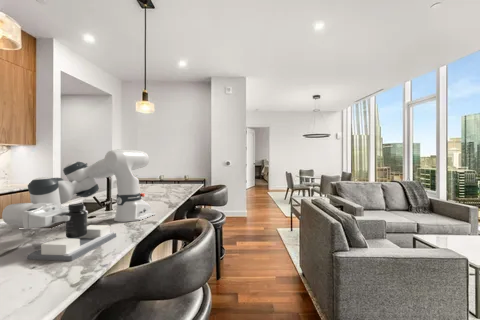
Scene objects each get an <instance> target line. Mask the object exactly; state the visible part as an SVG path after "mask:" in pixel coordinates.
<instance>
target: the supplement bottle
mask: <svg viewBox="0 0 480 320" xmlns="http://www.w3.org/2000/svg"><path fill="white" fill-rule="evenodd" d="M68 206H69V209H68V210H69V212H68V213H66V215H71V220H69V221H64V222H65V237H66V238H77V237H81V236H84V235H86V234H87V226H88V215H87V212H86V211H85V210H86V209H85V210H83V209H84V206H85V204H84V203H81V202H80V203H79V202H78V203H70V204H69V205H68ZM66 215H65V216H66Z"/></svg>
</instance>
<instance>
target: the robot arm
mask: <svg viewBox="0 0 480 320" xmlns="http://www.w3.org/2000/svg"><path fill="white" fill-rule="evenodd" d="M149 162H150V157H149V155H148V153H147V152H146V151H142V150H138V149H122V148H121V149H112V150H108V151H107V152H106V153H105V156H104V158H102V159H100V160H98V161H96V162H94V163H92V165H88V163H87V162H82V161H73V162H70V163H68V164H66V166H65V167H63V169H62V171H63V173H64V176H65V177H66V179H67V180H64V178H62V177H51V176H50V177H49V176H42V177H38V178H34V179H32V180H31V181H30V182H29V183H28V184H27V189H28V193H29V199H30V202H21V203H19V202H18V203H12V204H9V205H6V206H5V207H4V209H3V210H2V213H1V217H2V220H3V222H4V223H6V224H8V225H11V226H17V227H22V228H23V230H30V229H35V228H36V229H38V228H44V227H45V228H47V227H51V226H53V225H54V224H58V223H61V222H65V221H69V220H71V215H66V213H68V212H69V210H68V209H69V205H68V206H63V207H62V204H63V205H64V204H66V203H68V202H69V201H71V200H72V198H73V197H74V196H75V197H80V198H90V197H92V196H94V195H95V194H96V193H97V192H98V191H99V189H100V187H99V185H98V183H97V182H96V180H97V179H100V180H101V179H105V178H110V177H112V176H115V179H116V186H117V187H116V189H117V190H116V192H117V194H116V197H115V198H116V210H115V216H114V219H113V220H114V221H115V222H122V223H123V222H125V223H126V222H132V221H135V222H137V221H138V222H139V220H140V221H142V219H143V220H145V219H148V218H151V217H153V216H155V215H156V212H154V211H152V208H151V207H152V206H151V205H150V204H149V203H148V202H146V201H145V200H144V199H142V198H144V197H146V194H145V193H143V192H141V193H140V180H139V178H138V177H137V176H135V175H134V174H133V171H135V170H139V169H144V168H146V167H147V166H148V165H149ZM95 179H96V180H95ZM83 210H85V211H86V212H87V216H88V214H89V211H88V210H87V209H86V206H85V205H84V209H83ZM65 215H66V216H65ZM152 215H153V216H152ZM147 217H148V218H147Z"/></svg>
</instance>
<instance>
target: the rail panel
mask: <svg viewBox="0 0 480 320" xmlns="http://www.w3.org/2000/svg"><path fill="white" fill-rule="evenodd" d="M116 237H117V233H116V232H114V231H111V226H110V225H102V224H100V225H99V224H90V225H87V234H86V235H84V236H81V237H77V238H67V237H66V238H65V237H64V238H62V237H61V238H59V237H58V238H54V239H51V240H49V241H46V242H43V243H41V244H40V246H41V247H40V249H38V250H35V251H33V252H31V253H28V254H27V260H38V261H39V260H41V261H42V260H44V261H46V260H47V261H66V262H67V261H69V262H70V261H71V262H72V261H74V260H76V259H78V258H79V257H82V256H84V255H86V254H87V253H88V252H91V251H92V250H94V249H96V248H98V247H100V246H102V245H103V244H105V243H107V242H109V241H111V240H112V239H115V238H116Z"/></svg>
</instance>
